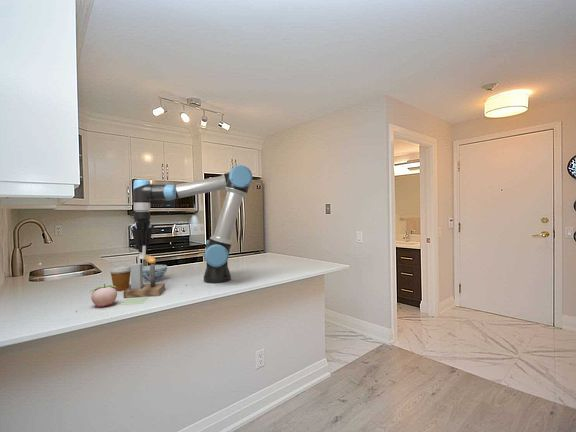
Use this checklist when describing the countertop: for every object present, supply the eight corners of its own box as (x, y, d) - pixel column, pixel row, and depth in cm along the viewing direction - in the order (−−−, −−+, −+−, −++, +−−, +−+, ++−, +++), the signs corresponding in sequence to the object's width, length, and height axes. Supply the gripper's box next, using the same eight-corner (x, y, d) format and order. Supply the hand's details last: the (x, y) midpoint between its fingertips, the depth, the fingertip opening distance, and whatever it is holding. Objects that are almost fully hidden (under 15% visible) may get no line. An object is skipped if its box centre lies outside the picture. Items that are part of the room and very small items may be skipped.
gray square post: (143, 292, 145) (142, 263, 144) (140, 294, 141) (139, 264, 140) (134, 293, 144) (133, 263, 144) (131, 295, 140) (130, 265, 140)
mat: (149, 299, 136) (149, 297, 136) (143, 306, 127) (143, 303, 127) (127, 301, 135) (127, 298, 135) (120, 307, 126) (119, 305, 126)
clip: (156, 262, 143) (156, 259, 143) (149, 263, 141) (149, 259, 141) (150, 258, 156) (150, 255, 156) (144, 259, 154) (144, 255, 154)
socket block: (164, 291, 150) (164, 261, 150) (159, 298, 139) (158, 265, 138) (132, 293, 148) (131, 262, 147) (123, 300, 136) (122, 267, 135)
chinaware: (165, 276, 184) (164, 263, 184) (169, 281, 171) (169, 267, 171) (137, 279, 176) (137, 266, 176) (140, 285, 164) (139, 270, 163)
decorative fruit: (96, 313, 119) (95, 287, 119) (89, 309, 125) (88, 284, 124) (121, 307, 126) (120, 283, 126) (114, 303, 132) (113, 280, 132)
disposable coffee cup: (122, 294, 146) (122, 269, 145) (105, 293, 148) (104, 269, 147) (136, 289, 155) (135, 265, 155) (120, 288, 157) (119, 265, 157)
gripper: (147, 211, 158) (147, 256, 159) (125, 211, 146) (125, 260, 147) (158, 211, 155) (158, 257, 156) (136, 211, 143) (137, 261, 144)
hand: (142, 258), depth 152 cm, fingers closed
